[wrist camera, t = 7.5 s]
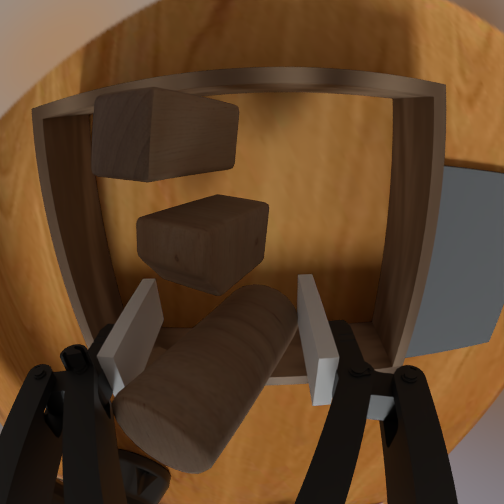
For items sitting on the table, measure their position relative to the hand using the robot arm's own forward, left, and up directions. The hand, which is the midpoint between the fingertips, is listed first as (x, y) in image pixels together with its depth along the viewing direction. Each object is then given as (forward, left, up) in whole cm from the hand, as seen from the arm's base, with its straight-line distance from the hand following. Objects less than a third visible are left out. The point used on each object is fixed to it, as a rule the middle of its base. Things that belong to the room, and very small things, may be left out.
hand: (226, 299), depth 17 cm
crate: (0, 0, -11) cm, 11 cm away
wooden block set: (-1, +1, -2) cm, 2 cm away
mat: (+25, -5, -11) cm, 28 cm away
